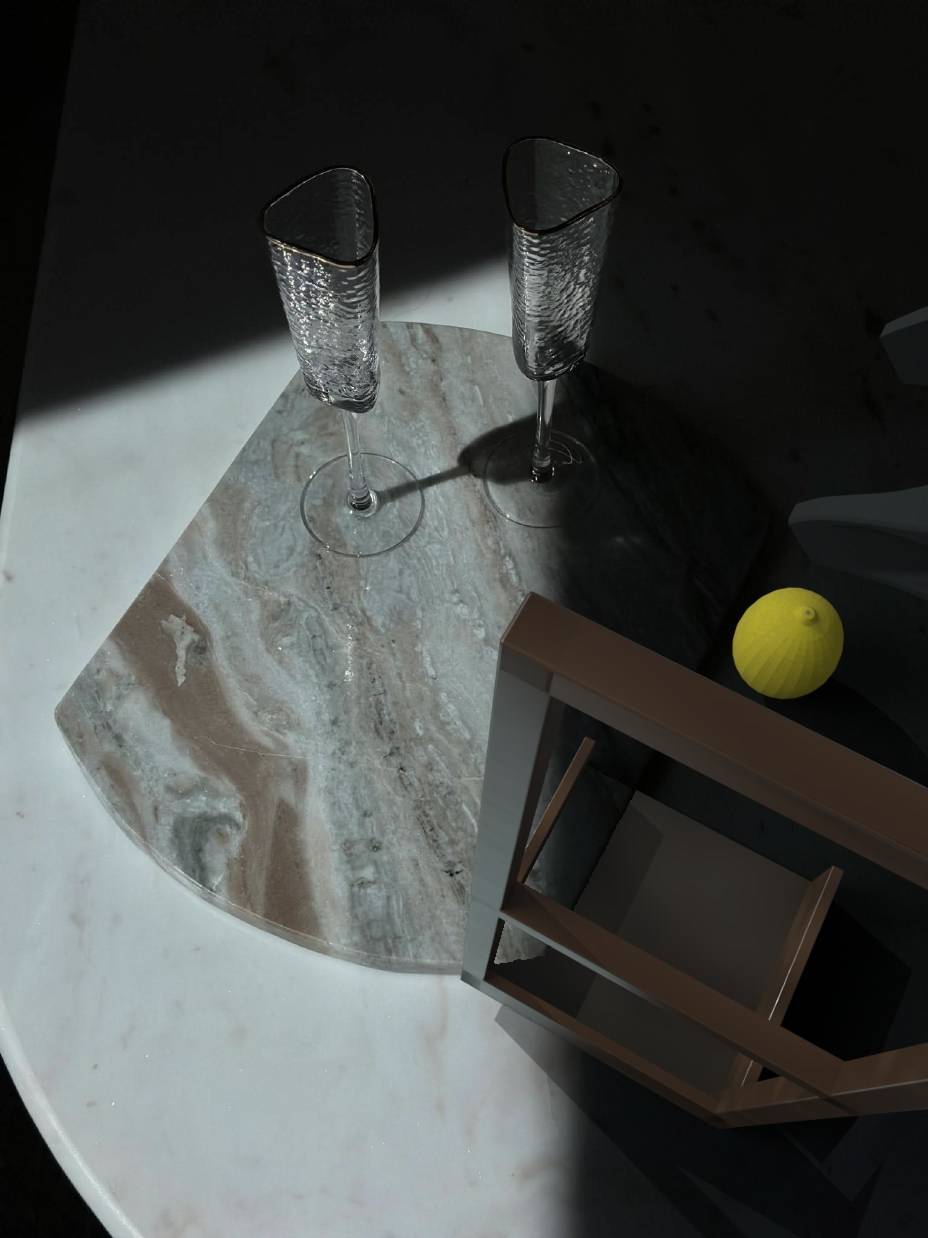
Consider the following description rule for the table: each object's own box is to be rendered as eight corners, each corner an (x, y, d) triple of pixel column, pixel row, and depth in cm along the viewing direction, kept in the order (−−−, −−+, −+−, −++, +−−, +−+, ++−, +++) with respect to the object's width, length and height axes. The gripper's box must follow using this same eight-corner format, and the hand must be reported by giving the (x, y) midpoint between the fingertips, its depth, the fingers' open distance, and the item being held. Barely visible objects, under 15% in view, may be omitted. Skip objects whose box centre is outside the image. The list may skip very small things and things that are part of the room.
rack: (577, 760, 63) (788, 152, 25) (820, 887, 60) (1475, 426, 22) (459, 979, 58) (497, 641, 20) (719, 1129, 55) (1338, 1072, 17)
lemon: (760, 610, 67) (799, 544, 60) (836, 673, 65) (885, 613, 58) (698, 671, 65) (730, 611, 58) (774, 738, 64) (817, 684, 56)
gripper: (1449, 46, 26) (886, 182, 36) (1315, 536, 21) (696, 535, 31) (1474, 286, 30) (960, 348, 40) (1368, 751, 25) (803, 687, 35)
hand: (851, 440), depth 36 cm, fingers open, 7 cm apart
